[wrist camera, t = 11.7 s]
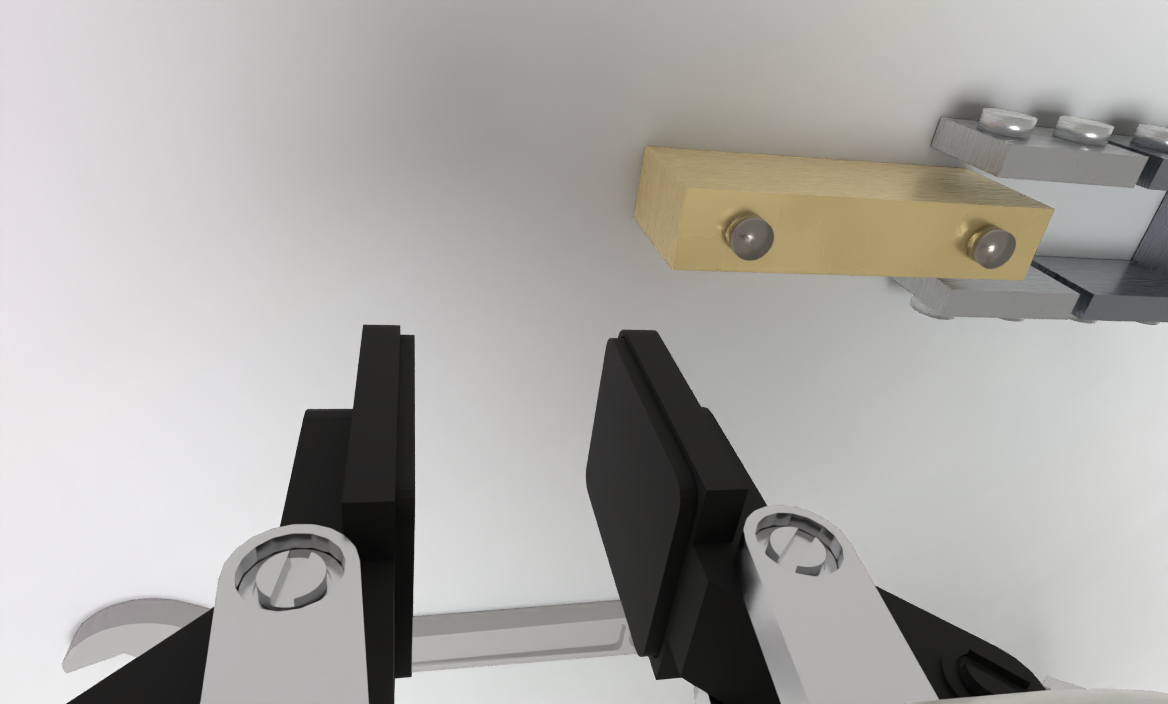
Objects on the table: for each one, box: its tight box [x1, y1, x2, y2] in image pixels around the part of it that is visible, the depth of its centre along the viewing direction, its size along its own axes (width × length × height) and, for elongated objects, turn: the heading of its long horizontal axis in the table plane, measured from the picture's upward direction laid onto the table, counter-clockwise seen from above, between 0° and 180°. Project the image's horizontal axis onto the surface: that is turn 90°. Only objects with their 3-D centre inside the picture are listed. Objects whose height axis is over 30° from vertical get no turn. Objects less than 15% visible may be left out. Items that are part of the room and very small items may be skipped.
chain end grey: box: [890, 108, 1149, 321], centre depth 26 cm, size 7×5×4 cm
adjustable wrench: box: [62, 599, 637, 673], centre depth 33 cm, size 25×6×2 cm, turn 77°
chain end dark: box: [1030, 124, 1168, 325], centre depth 27 cm, size 7×6×4 cm
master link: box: [634, 146, 1055, 280], centre depth 24 cm, size 2×12×5 cm, turn 83°
